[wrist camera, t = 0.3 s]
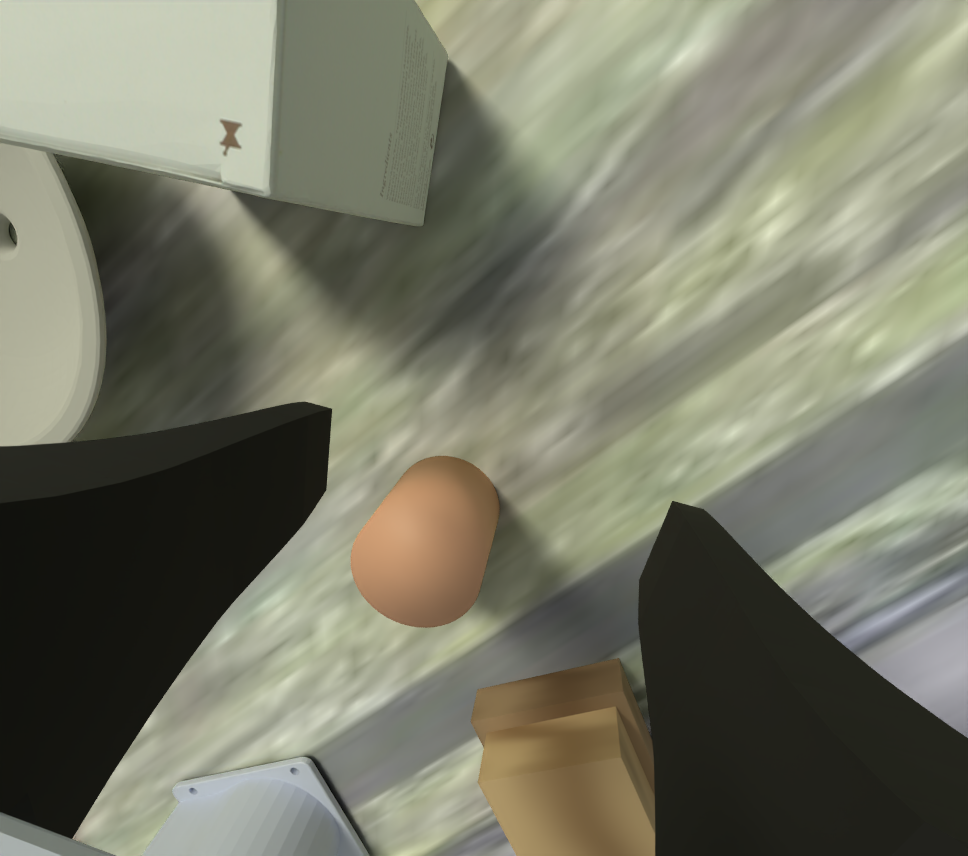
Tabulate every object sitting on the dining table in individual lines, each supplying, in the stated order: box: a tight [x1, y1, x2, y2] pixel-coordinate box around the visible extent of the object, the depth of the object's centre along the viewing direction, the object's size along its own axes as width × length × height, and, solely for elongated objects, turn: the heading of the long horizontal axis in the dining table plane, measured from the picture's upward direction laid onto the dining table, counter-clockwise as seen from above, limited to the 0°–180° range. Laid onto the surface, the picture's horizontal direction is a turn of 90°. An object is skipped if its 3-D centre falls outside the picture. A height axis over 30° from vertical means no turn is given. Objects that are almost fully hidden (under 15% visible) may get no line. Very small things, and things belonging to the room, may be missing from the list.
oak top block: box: [478, 706, 655, 856], centre depth 22 cm, size 6×6×2 cm
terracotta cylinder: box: [351, 456, 500, 628], centre depth 20 cm, size 5×5×5 cm
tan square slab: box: [471, 658, 655, 796], centre depth 25 cm, size 7×7×2 cm
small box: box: [0, 0, 448, 226], centre depth 14 cm, size 8×6×10 cm
